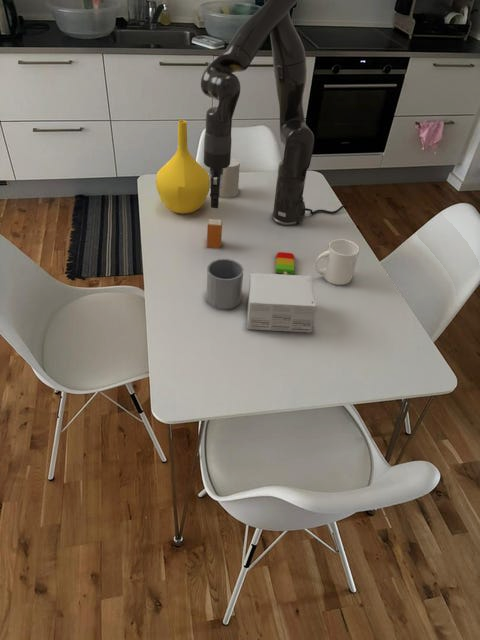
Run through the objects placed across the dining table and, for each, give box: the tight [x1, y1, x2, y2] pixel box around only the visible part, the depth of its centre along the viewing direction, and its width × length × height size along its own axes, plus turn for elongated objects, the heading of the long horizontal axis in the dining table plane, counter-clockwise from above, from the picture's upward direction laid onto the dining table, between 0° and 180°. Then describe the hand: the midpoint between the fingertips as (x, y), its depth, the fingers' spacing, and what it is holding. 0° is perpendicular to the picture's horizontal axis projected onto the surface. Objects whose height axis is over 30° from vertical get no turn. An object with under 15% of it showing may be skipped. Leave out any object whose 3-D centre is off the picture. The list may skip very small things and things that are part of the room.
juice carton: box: [206, 218, 223, 249], centre depth 158 cm, size 4×3×8 cm
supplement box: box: [246, 272, 317, 334], centre depth 133 cm, size 17×13×9 cm
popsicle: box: [275, 251, 296, 275], centre depth 152 cm, size 6×15×2 cm, turn 176°
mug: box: [314, 238, 360, 286], centre depth 148 cm, size 9×12×11 cm
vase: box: [155, 119, 211, 215], centre depth 168 cm, size 18×18×30 cm
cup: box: [219, 156, 241, 199], centre depth 184 cm, size 8×8×12 cm
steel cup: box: [206, 258, 244, 310], centre depth 137 cm, size 10×10×10 cm
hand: (215, 200), depth 150 cm, fingers open, 8 cm apart
